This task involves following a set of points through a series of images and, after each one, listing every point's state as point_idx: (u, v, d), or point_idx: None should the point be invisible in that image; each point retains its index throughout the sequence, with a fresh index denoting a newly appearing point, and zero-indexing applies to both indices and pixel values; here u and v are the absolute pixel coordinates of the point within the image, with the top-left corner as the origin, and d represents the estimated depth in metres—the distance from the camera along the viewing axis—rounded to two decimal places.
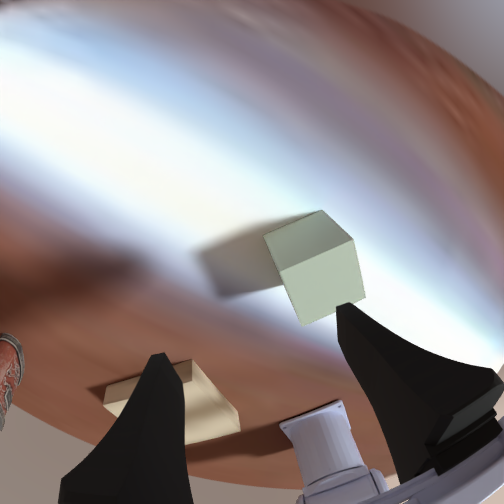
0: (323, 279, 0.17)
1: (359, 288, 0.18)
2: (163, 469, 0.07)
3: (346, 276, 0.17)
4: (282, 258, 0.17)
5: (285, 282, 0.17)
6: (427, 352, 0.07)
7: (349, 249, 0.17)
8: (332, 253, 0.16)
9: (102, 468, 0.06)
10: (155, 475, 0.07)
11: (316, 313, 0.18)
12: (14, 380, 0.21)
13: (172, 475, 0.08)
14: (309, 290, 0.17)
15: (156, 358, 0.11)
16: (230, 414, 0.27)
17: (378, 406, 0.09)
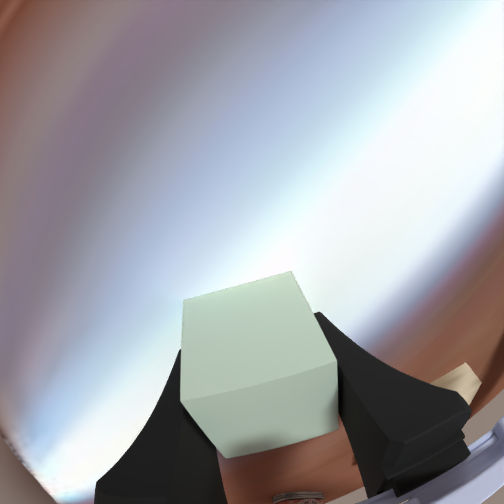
0: (257, 426, 0.09)
1: (304, 377, 0.08)
2: (201, 465, 0.07)
3: (264, 401, 0.08)
4: None
5: (245, 454, 0.10)
6: (391, 369, 0.07)
7: (202, 404, 0.08)
8: (207, 423, 0.08)
9: (142, 468, 0.06)
10: (195, 472, 0.07)
11: (323, 421, 0.09)
12: None
13: (208, 471, 0.08)
14: (270, 436, 0.09)
15: None
16: (456, 388, 0.18)
17: (345, 419, 0.09)
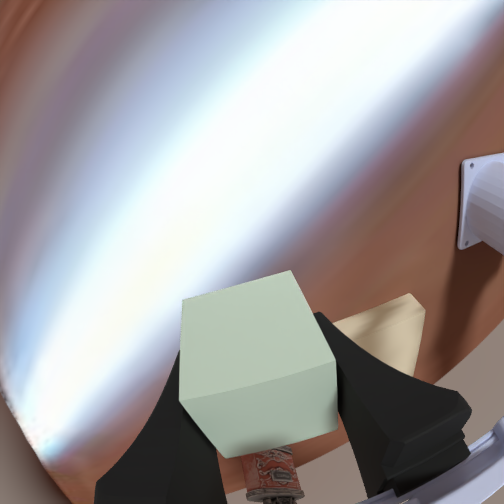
0: (256, 426, 0.09)
1: (303, 377, 0.08)
2: (201, 465, 0.07)
3: (263, 401, 0.08)
4: None
5: (244, 453, 0.10)
6: (391, 369, 0.07)
7: (201, 404, 0.08)
8: (206, 422, 0.08)
9: (142, 469, 0.06)
10: (195, 472, 0.07)
11: (322, 421, 0.09)
12: (275, 460, 0.29)
13: (208, 471, 0.08)
14: (269, 435, 0.09)
15: None
16: (397, 314, 0.22)
17: (345, 419, 0.09)
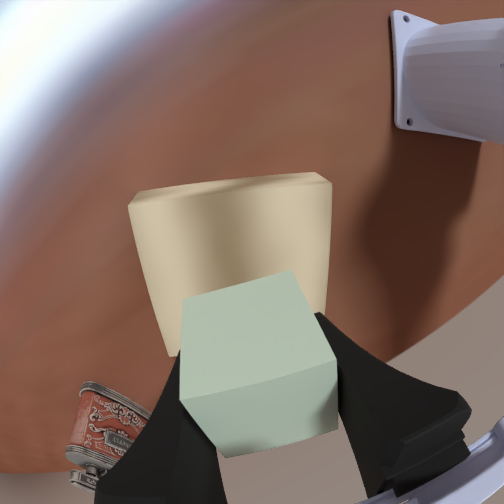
0: (256, 425, 0.09)
1: (304, 376, 0.08)
2: (201, 465, 0.07)
3: (264, 400, 0.08)
4: None
5: (244, 453, 0.10)
6: (391, 369, 0.07)
7: (201, 403, 0.08)
8: (207, 422, 0.08)
9: (142, 468, 0.06)
10: (195, 472, 0.07)
11: (323, 420, 0.09)
12: (119, 420, 0.21)
13: (208, 471, 0.08)
14: (269, 435, 0.09)
15: None
16: (282, 182, 0.15)
17: (345, 419, 0.09)
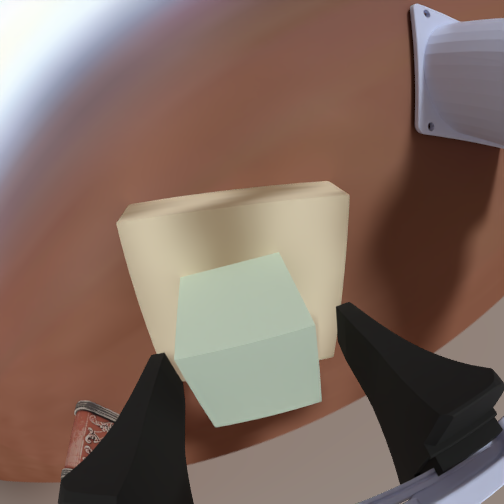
0: (244, 391, 0.10)
1: (286, 340, 0.09)
2: (163, 469, 0.07)
3: (250, 364, 0.09)
4: None
5: (233, 423, 0.11)
6: (427, 352, 0.07)
7: (193, 364, 0.09)
8: (198, 384, 0.10)
9: (102, 468, 0.06)
10: (155, 475, 0.07)
11: (306, 390, 0.11)
12: None
13: (172, 475, 0.08)
14: (256, 403, 0.10)
15: (156, 358, 0.11)
16: (293, 193, 0.13)
17: (378, 406, 0.09)
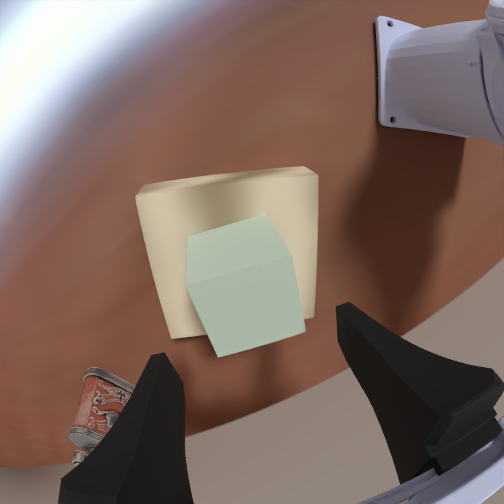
0: (240, 316, 0.13)
1: (270, 267, 0.13)
2: (163, 469, 0.07)
3: (244, 288, 0.13)
4: None
5: (233, 352, 0.14)
6: (427, 352, 0.07)
7: (200, 289, 0.12)
8: (204, 310, 0.13)
9: (102, 469, 0.06)
10: (155, 475, 0.07)
11: (291, 318, 0.14)
12: (122, 404, 0.22)
13: (172, 475, 0.08)
14: (251, 329, 0.14)
15: (156, 358, 0.11)
16: (274, 174, 0.17)
17: (378, 406, 0.09)
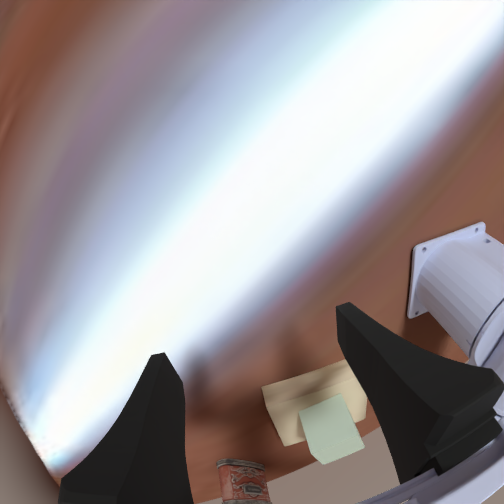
0: (334, 453, 0.23)
1: (348, 439, 0.22)
2: (163, 469, 0.07)
3: (336, 447, 0.22)
4: None
5: (330, 461, 0.24)
6: (427, 352, 0.07)
7: (317, 452, 0.22)
8: (318, 456, 0.23)
9: (102, 469, 0.06)
10: (155, 475, 0.07)
11: (358, 446, 0.23)
12: (247, 476, 0.33)
13: (172, 475, 0.08)
14: (339, 454, 0.23)
15: (156, 358, 0.11)
16: (342, 374, 0.26)
17: (378, 406, 0.09)
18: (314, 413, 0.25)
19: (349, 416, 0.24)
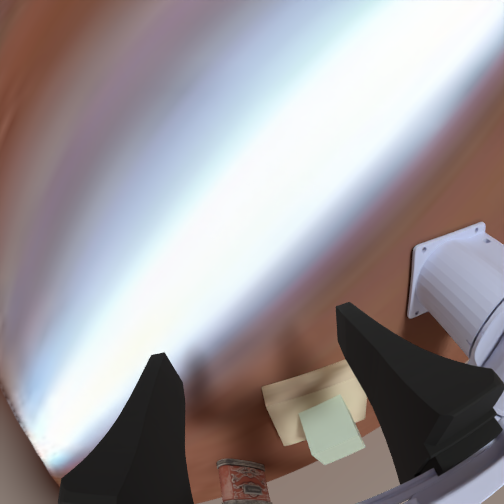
0: (335, 453, 0.23)
1: (348, 440, 0.22)
2: (163, 469, 0.07)
3: (337, 448, 0.22)
4: None
5: None
6: (427, 352, 0.07)
7: (318, 453, 0.22)
8: (319, 457, 0.23)
9: (102, 468, 0.06)
10: (155, 475, 0.07)
11: (358, 446, 0.23)
12: (247, 476, 0.33)
13: (172, 475, 0.08)
14: (340, 455, 0.24)
15: (156, 358, 0.11)
16: (342, 374, 0.26)
17: (378, 406, 0.09)
18: (314, 414, 0.26)
19: (349, 417, 0.24)
